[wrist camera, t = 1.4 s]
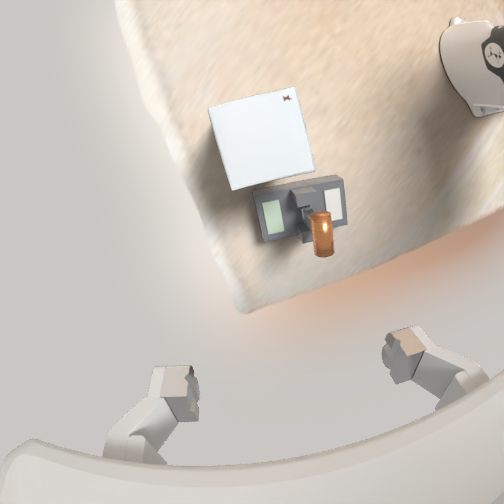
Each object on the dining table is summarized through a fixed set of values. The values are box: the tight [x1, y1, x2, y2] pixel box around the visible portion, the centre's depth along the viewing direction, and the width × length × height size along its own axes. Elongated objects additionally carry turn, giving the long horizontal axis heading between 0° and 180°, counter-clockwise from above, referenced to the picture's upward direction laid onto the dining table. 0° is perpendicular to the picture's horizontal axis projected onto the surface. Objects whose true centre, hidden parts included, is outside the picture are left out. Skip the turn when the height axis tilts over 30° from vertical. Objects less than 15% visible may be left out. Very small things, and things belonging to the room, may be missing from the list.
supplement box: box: [208, 87, 315, 191], centre depth 26 cm, size 7×7×13 cm
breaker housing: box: [253, 175, 347, 243], centre depth 33 cm, size 11×6×6 cm, turn 102°
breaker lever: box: [301, 205, 334, 257], centre depth 28 cm, size 2×4×8 cm, turn 12°
